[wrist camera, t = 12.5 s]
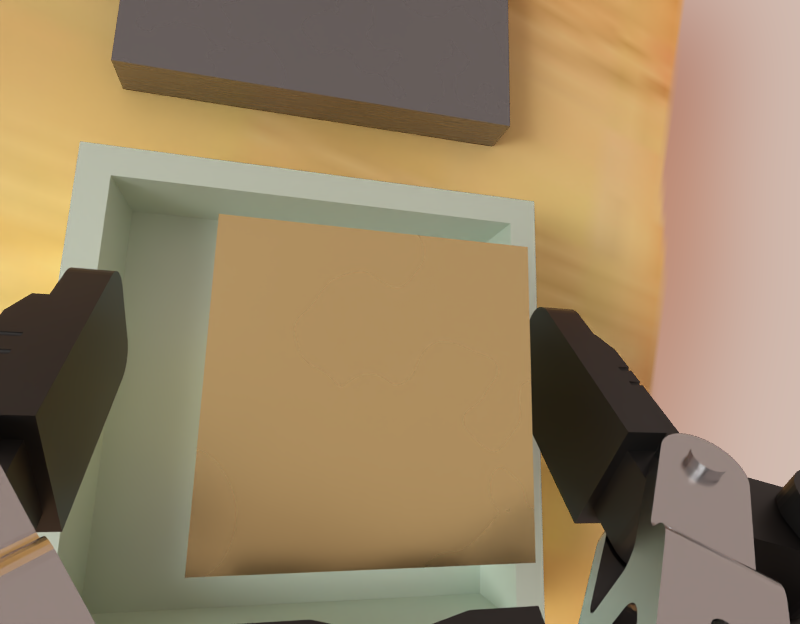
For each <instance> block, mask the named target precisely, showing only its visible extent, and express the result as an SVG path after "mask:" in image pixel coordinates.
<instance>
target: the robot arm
mask: <svg viewBox="0 0 800 624" xmlns="http://www.w3.org/2000/svg"><path fill="white" fill-rule="evenodd" d="M127 355H128V339H127V328H126V318H125V307H124V297H123V286H122V279H121V276H120V274H119V272H118V271H110V270H97V269H85V268H73V267H71V268H68V269H67V270H66V271H65V273H64V274H63V276H62V277H61V279H60V280H59V282H58V283H57V284H56V286H55V287H54V289H53V290H52V292H51V293H50V295H49V294H35V293H32V294H30V295H28V296H27V297H25V298H23V299H22V300H20V301H18V302H16V303H15V304H13V305H11V306H10V307H8V308H6V309H5V310H4V311H3V312H2V313H1V314H0V624H95V622H94V620H93V618H92V617H91V615H90V613H89V611H88V609H87V607H86V606H85V604H84V602H83V600H82V598H81V596H80V595H79V593H78V591H77V589H76V587H75V585H74V584H73V582H72V580H71V578H70V576H69V574H68V573H67V571H66V569H65V567H64V565H63V563H62V561H61V560H60V558H59V556H58V554H57V552H56V551H55V549H54V547H53V546H52V544H51V543H50V541H49V540H48V539H47V537H46V536H42V537H39V536H38V534H37V533H36V532H62V531H63V528H64V526H65V523H66V521H67V518H68V516H69V513H70V511H71V508H72V505H73V503H74V500H75V498H76V495H77V493H78V490H79V488H80V485H81V483H82V480H83V478H84V475H85V472H86V470H87V467H88V465H89V462H90V460H91V457H92V455H93V452H94V450H95V447H96V445H97V442H98V439H99V437H100V434H101V432H102V429H103V427H104V424H105V422H106V419H107V417H108V414H109V412H110V409H111V406H112V404H113V401H114V399H115V396H116V394H117V391H118V389H119V386H120V384H121V381H122V379H123V376H124V373H125V368H126V363H127ZM530 357H531V397H532V434H533V437H534V439H535V441H536V443H537V445H538V447H539V449H540V451H541V453H542V455H543V458H544V460H545V462H546V464H547V466H548V468H549V470H550V472H551V474H552V476H553V479H554V481H555V483H556V485H557V487H558V489H559V491H560V493H561V495H562V498H563V500H564V502H565V504H566V506H567V508H568V510H569V512H570V514H571V516H572V519H573V521H574V523H601V525H602V526H603V528H604V530H605V531H604V533H603V534H602V536H601V537H600V539H599V541H598V543H597V547H596V551H595V556H594V560H593V564H592V568H591V573H590V577H589V581H588V585H587V590H586V594H585V598H584V602H583V607H582V611H581V615H580V619H579V623H578V624H800V470H799V471H797V472H796V473H795V475H794V476H793V477H792V478H791V479H790V480H789V482H788V483H787V484H786V485H785V486H784V487H779V486H776V485H773V484H769V483H765V482H762V481H758V480H755V479H751V478H747V476H746V474H745V472H744V471H743V469H742V468H741V467H740V465H739V464H738V463H737V462H736V461H735V460H734V459H733V458H732V457H731V456H730V455H728V454H727V453H726V452H724V451H723V450H722V449H721V448H719V447H717V446H716V445H714V444H712V443H710V442H708V441H706V440H704V439H702V438H699V437H696V436H693V435H688V434H682V433H679V432H678V431H677V429H676V428H675V427H674V426H673V424H672V423H671V422H670V420H669V419H668V418H667V416H666V415H665V414H664V413H663V411H662V410H661V409H660V407H659V406H658V405H657V404H656V402H655V401H654V400H653V398H652V397H651V396H650V394H649V393H648V392H647V391H646V389H645V388H644V387H643V386H642V385H639V383H640V382H639V380H638V379H637V378H636V376H635V375H634V374H633V372H632V371H629V370H628V368H629V367H628V366H627V365H626V363H625V362H624V361H623V360H622V358H621V357H620V356H619V354H618V353H617V352H616V350H614V349H613V348H612V347H610V346H609V345H608V344H607V343H605V342H604V341H603V340H601V339H600V338H599V337H598V336H596V335H594V334H593V333H592V332H591V330H590V329H589V328H588V326H587V325H586V324H585V322H584V321H583V320H582V318H581V317H580V316H579V314H578V313H577V312H576V311H574V310H569V309H557V308H545V307H539V308H537V309H536V310H535V311H534V312H533V314H532V315H531V318H530ZM244 624H330V623H325V622H320V621H315V620H311V619H310V620H294V621H277V622H260V623H244ZM433 624H545V622H544V620H543V617H542V614H541V611H540V609H539V606H527V607H510V608H493V609H477V610H468V611H465V612H463V613H460V614H457V615H455V616H452V617H449V618H447V619H444V620H441V621H439V622H436V623H433Z"/></svg>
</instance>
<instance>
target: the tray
mask: <svg viewBox="0 0 800 624" xmlns="http://www.w3.org/2000/svg"><path fill="white" fill-rule="evenodd" d="M219 214H226V215H235V216H245V217H254V218H263V219H273V220H282V221H291V222H301V223H310V224H319V225H328V226H338V227H347V228H356V229H366V230H375V231H384V232H393V233H403V234H412V235H421V236H431V237H440V238H449V239H459V240H468V241H477V242H486V243H496V244H505V245H514V246H524V247H528V277H529V317H530V318H531V315H532V314H533V312H534V311H535V310H536V309H537V296H536V256H535V217H534V201H526V200H519V199H511V198H504V197H496V196H488V195H481V194H473V193H466V192H458V191H451V190H443V189H436V188H428V187H420V186H413V185H405V184H398V183H390V182H383V181H375V180H367V179H360V178H352V177H345V176H337V175H330V174H322V173H315V172H307V171H299V170H292V169H284V168H277V167H269V166H262V165H254V164H247V163H239V162H231V161H224V160H216V159H209V158H201V157H194V156H186V155H179V154H171V153H163V152H156V151H148V150H141V149H133V148H126V147H118V146H111V145H103V144H95V143H88V142H80V146H79V152H78V158H77V165H76V171H75V178H74V184H73V191H72V197H71V204H70V210H69V217H68V223H67V229H66V236H65V242H64V249H63V255H62V262H61V268H60V275H59V280H60V279H61V277H62V276H63V274H64V273H65V271H66V270H67V269H68V268H71V267H73V268H85V269H97V270H110V271H118V272H119V274H120V276H121V279H122V286H123V297H124V307H125V318H126V328H127V339H128V355H127V363H126V368H125V373H124V376H123V379H122V381H121V384H120V386H119V389H118V391H117V394H116V396H115V399H114V401H113V404H112V406H111V409H110V412H109V414H108V417H107V419H106V422H105V424H104V427H103V429H102V432H101V434H100V437H99V439H98V442H97V445H96V447H95V450H94V452H93V455H92V457H91V460H90V462H89V465H88V467H87V470H86V472H85V475H84V478H83V480H82V483H81V485H80V488H79V490H78V493H77V495H76V498H75V500H74V503H73V505H72V508H71V511H70V513H69V516H68V518H67V521H66V523H65V526H64V528H63V531H62V532H36V533H37V534H38V536H39V537H42V536H46V537H47V539H48V540H49V541H50V543H51V544H52V546H53V547H54V549H55V551H56V552H57V554H58V556H59V558H60V560H61V561H62V563H63V565H64V567H65V569H66V571H67V573H68V574H69V576H70V578H71V580H72V582H73V584H74V585H75V587H76V589H77V591H78V593H79V595H80V596H81V598H82V600H83V602H84V604H85V606H86V607H87V609H88V611H89V613H90V615H91V617H92V618H93V620H94V622H95V624H244V623H260V622H277V621H294V620H310V619H311V620H315V621H320V622H325V623H330V624H433V623H436V622H439V621H441V620H444V619H447V618H449V617H452V616H455V615H457V614H460V613H463V612H465V611H468V610H477V609H493V608H510V607H527V606H539V609H540V611H541V614H542V617H543V620H544V622H545V612H544V572H543V533H542V493H541V454H540V449H539V447H538V445H537V443H536V441H535V439H534V437H533V434H532V437H533V477H534V517H535V557H536V563H519V564H495V565H472V566H448V567H425V568H402V569H378V570H355V571H331V572H308V573H284V574H261V575H238V576H214V577H191V578H185V569H186V558H187V547H188V537H189V526H190V515H191V505H192V494H193V483H194V473H195V462H196V451H197V441H198V430H199V419H200V409H201V398H202V388H203V377H204V366H205V356H206V345H207V334H208V324H209V313H210V302H211V292H212V281H213V270H214V260H215V249H216V238H217V228H218V217H219ZM58 282H59V281H58Z"/></svg>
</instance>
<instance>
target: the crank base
mask: <svg viewBox="0 0 800 624" xmlns="http://www.w3.org/2000/svg"><path fill="white" fill-rule="evenodd" d="M111 60H112V63H113V65H114V68H115V70H116V72H117V75H118V77H119V80H120V82H121V85H122V87H123V89H129V90H135V91H141V92H148V93H154V94H161V95H167V96H173V97H180V98H186V99H193V100H199V101H206V102H212V103H218V104H225V105H231V106H238V107H244V108H251V109H257V110H263V111H270V112H276V113H283V114H289V115H296V116H302V117H308V118H315V119H321V120H328V121H334V122H341V123H347V124H353V125H360V126H366V127H373V128H379V129H386V130H392V131H398V132H405V133H411V134H418V135H424V136H431V137H437V138H443V139H450V140H456V141H463V142H469V143H476V144H482V145H488V146H493V145H494V144H495V143H496V142H497V141H498V139H499V138H500V137H501V136H502V135H503V134H504V132H505V131H506V130H507V129H508V128H509V127H510V104H509V43H508V0H120V4H119V11H118V17H117V24H116V31H115V38H114V45H113V51H112V58H111Z"/></svg>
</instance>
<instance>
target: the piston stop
mask: <svg viewBox="0 0 800 624" xmlns="http://www.w3.org/2000/svg"><path fill="white" fill-rule="evenodd" d="M519 563H536V557H535V517H534V477H533V437H532V397H531V357H530V317H529V277H528V247H524V246H514V245H505V244H496V243H486V242H477V241H468V240H459V239H449V238H440V237H431V236H421V235H412V234H403V233H393V232H384V231H375V230H366V229H356V228H347V227H338V226H328V225H319V224H310V223H301V222H291V221H282V220H273V219H263V218H254V217H245V216H235V215H226V214H219V217H218V228H217V238H216V249H215V260H214V270H213V281H212V292H211V302H210V313H209V324H208V334H207V345H206V356H205V366H204V377H203V388H202V398H201V409H200V419H199V430H198V441H197V451H196V462H195V473H194V483H193V494H192V505H191V515H190V526H189V537H188V547H187V558H186V569H185V578H191V577H214V576H238V575H261V574H284V573H308V572H331V571H355V570H378V569H402V568H425V567H448V566H472V565H495V564H519Z"/></svg>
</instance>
